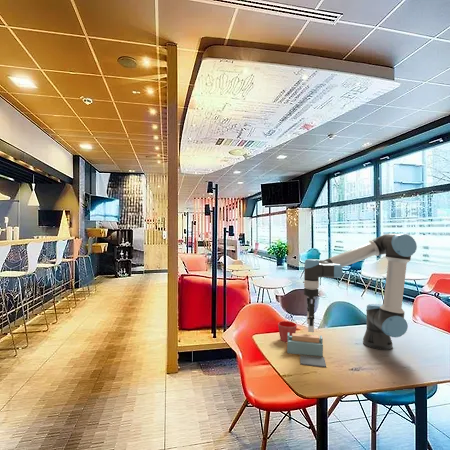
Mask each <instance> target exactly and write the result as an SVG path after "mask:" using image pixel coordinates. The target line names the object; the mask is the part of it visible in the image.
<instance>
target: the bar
mask: <svg viewBox="0 0 450 450" xmlns="http://www.w3.org/2000/svg"><path fill="white" fill-rule="evenodd" d="M319 339H320V335H315V334H307V333H306V334H305V333H292V340H293V341H303V342H313V343H319Z"/></svg>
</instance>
